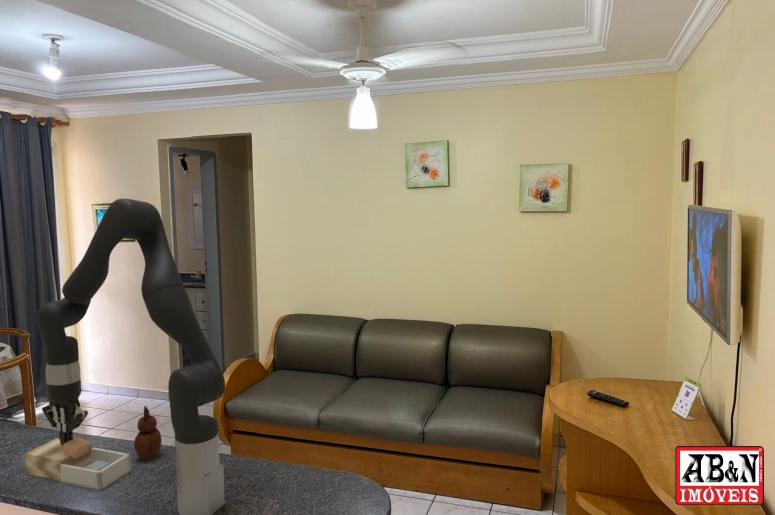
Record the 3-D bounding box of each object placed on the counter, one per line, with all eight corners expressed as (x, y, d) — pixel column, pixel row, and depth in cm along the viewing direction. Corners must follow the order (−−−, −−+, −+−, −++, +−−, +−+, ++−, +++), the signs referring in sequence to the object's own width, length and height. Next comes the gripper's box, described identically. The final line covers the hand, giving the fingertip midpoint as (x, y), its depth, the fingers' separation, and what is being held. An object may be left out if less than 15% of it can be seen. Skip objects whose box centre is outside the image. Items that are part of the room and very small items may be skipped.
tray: (131, 470, 141) (130, 454, 141) (100, 490, 132) (99, 473, 131) (94, 463, 145) (93, 447, 144) (61, 482, 135) (60, 465, 135)
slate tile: (97, 460, 141) (97, 469, 141) (84, 467, 137) (84, 477, 137) (109, 462, 139) (110, 472, 140) (97, 470, 136) (97, 479, 136)
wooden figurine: (150, 464, 145) (148, 409, 143) (131, 461, 146) (128, 407, 144) (166, 452, 151) (163, 399, 150) (147, 450, 153) (144, 398, 151)
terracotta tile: (88, 451, 141) (89, 442, 141) (75, 458, 137) (76, 449, 137) (76, 445, 142) (77, 436, 142) (63, 452, 138) (64, 443, 138)
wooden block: (92, 464, 144) (91, 444, 144) (63, 481, 136) (61, 460, 135) (57, 457, 148) (56, 438, 147) (26, 473, 140) (25, 453, 139)
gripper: (96, 377, 140) (98, 442, 142) (56, 370, 143) (58, 433, 146) (71, 387, 132) (74, 455, 135) (29, 379, 136) (33, 446, 139)
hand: (66, 443), depth 140 cm, fingers closed
